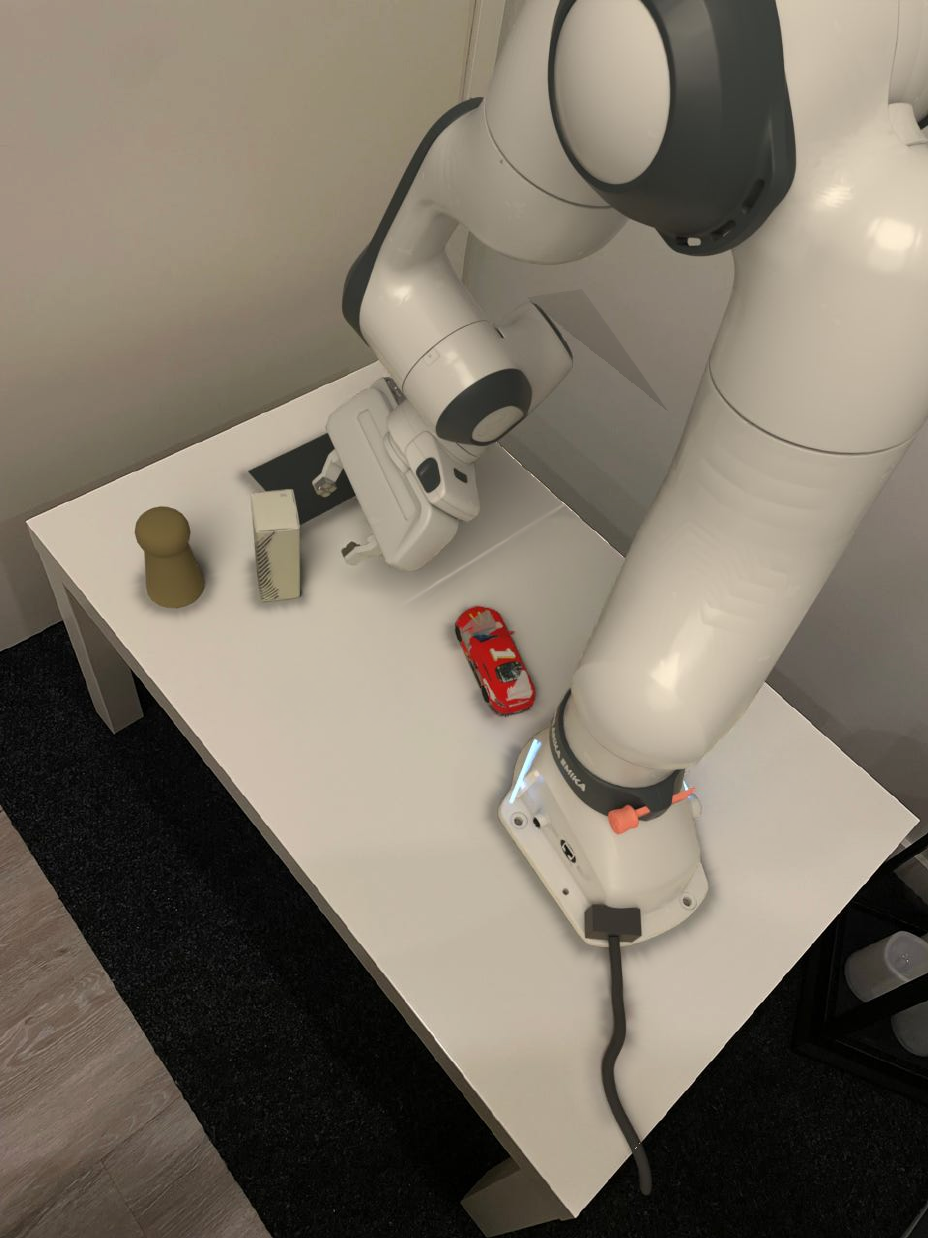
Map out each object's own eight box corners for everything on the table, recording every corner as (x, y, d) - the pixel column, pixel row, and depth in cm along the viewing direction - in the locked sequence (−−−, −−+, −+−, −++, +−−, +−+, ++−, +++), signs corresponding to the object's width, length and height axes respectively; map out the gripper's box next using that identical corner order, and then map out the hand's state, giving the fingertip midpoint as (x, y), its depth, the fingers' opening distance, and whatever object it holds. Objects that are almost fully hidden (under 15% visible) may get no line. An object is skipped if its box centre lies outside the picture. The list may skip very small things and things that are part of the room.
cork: (210, 566, 95) (199, 502, 86) (196, 612, 92) (183, 550, 83) (155, 557, 95) (138, 491, 86) (138, 603, 91) (118, 539, 82)
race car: (447, 620, 96) (452, 600, 93) (492, 609, 98) (498, 589, 94) (490, 724, 90) (497, 706, 86) (537, 711, 91) (546, 693, 88)
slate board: (297, 532, 99) (297, 526, 99) (248, 476, 103) (247, 470, 102) (431, 460, 108) (432, 454, 107) (381, 411, 112) (382, 405, 111)
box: (255, 565, 96) (248, 489, 85) (295, 561, 97) (293, 485, 86) (261, 605, 94) (254, 531, 83) (302, 600, 95) (300, 526, 84)
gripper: (372, 354, 87) (281, 441, 92) (450, 506, 78) (344, 594, 83) (410, 380, 93) (321, 462, 98) (486, 526, 83) (384, 607, 88)
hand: (332, 524), depth 90 cm, fingers open, 8 cm apart
